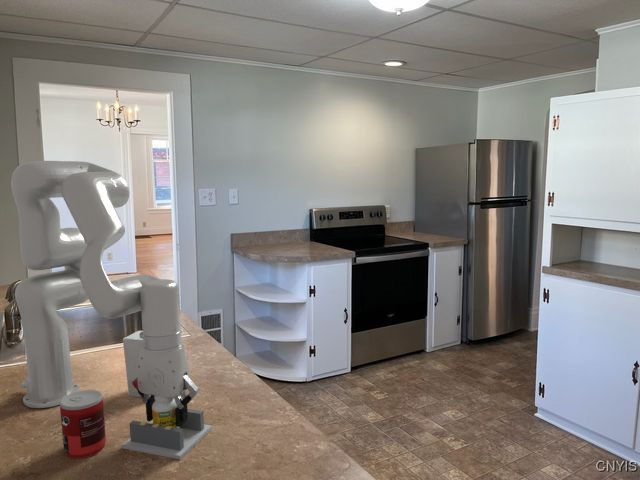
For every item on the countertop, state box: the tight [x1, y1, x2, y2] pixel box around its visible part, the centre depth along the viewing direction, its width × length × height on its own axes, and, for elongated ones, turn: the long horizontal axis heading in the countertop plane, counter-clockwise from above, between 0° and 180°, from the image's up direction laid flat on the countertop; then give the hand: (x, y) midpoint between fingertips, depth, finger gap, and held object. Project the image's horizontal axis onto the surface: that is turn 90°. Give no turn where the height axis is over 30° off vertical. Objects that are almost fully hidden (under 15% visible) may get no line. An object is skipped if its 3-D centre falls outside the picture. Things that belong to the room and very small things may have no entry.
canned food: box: [59, 389, 107, 459], centre depth 99 cm, size 8×8×11 cm
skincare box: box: [122, 330, 144, 398], centre depth 124 cm, size 8×7×16 cm
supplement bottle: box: [152, 396, 180, 429], centre depth 103 cm, size 5×5×10 cm
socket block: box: [121, 408, 213, 461], centre depth 103 cm, size 14×12×5 cm
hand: (167, 420), depth 103 cm, fingers open, 6 cm apart
